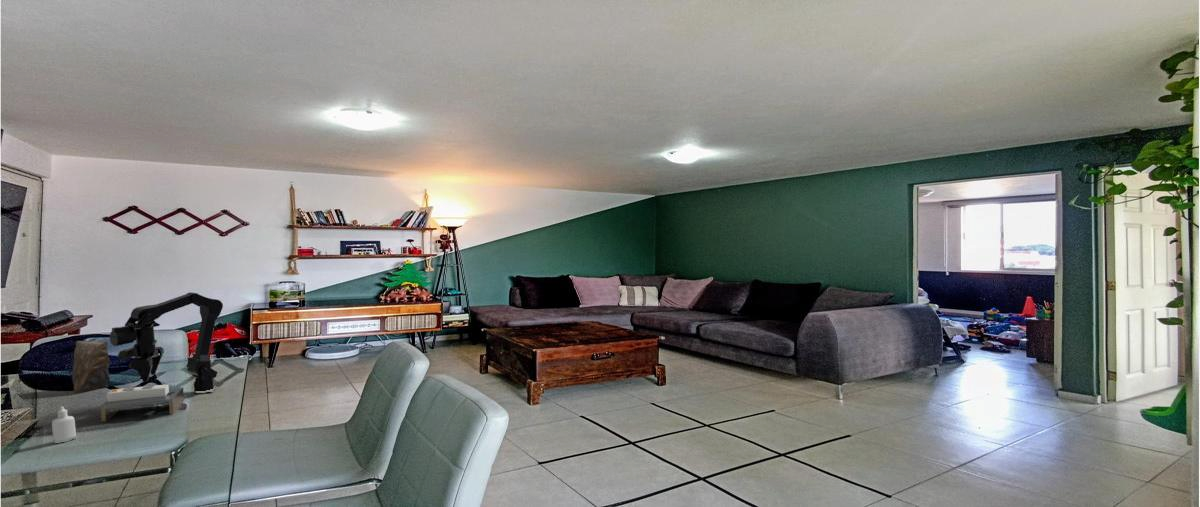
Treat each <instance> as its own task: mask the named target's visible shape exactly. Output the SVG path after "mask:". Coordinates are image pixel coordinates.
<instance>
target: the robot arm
mask: <svg viewBox="0 0 1200 507" xmlns="http://www.w3.org/2000/svg"><path fill="white" fill-rule="evenodd" d="M192 304H193V305H195V306H197V307H199V314H200V317H201V321H200V327H199V332H198V338H197V341H196V347H195V352H194V354H193V355H192V356H191V357H190V356H188V357H187V364H186V365H185V367H186V368H187V369H186V370H187V372H189V374H191V375H192V376H191V377H193V378H194V382H193V391H194V392H195V391H206V390H210V389H213V388H214V387H216V384H215V383H216V382H215V381H216V380H215V378H217V375H218V371H216V370H214V369H213V368H212V363H211V362H212V360H211V358H210V354H209V353H210V351H211V350H210V349H211V344H212V339H213V334H214V329H215V324H216V320H217V319H218V318H219V316H220V315H221V313H222V310H223V307H224V305H223V304H224V303H222V301H221V300H220V299H215V298H211V297H206V296H203V295H201V294H199V293H198V292H192V291H191V292H187V293H186V294H183V295H180V296H177V297H174V298H171V299H168V300H165V301H162V302H160V303H156V304H149V305H143V306H137V307H135V308H133V309H132V311H131V313H130V316H129V318H128V319H127V321H126V322H125V323H124V326H117V327H116V326H115V327H112V328H111V332H109V333H110V334H109V341H110V343H111V345H112V346H113V347H117V346H122V345H127V344H132V343H134V342H136V343H134V345H133V346H131V347H130V348H127V349H126V348H125V349H123V350H120V351H119V352H118V354H117V359H119V360H121V362H125V361H126V360H128V359H131V358H133V357H134V358H133V359H132V360H131V361H130V362H129V369H131V370H135V371H136V372H138V374H139V376H140V378H141V380H142V382H143V383H147V382H148V381H149V378H150V375H151V376H153V375H154V376H155V375H156V373H157V371H158V368H159V365H160V363H161V360H162V358H163V356H164V354H165V353H164V352H165V350H164V348H163V347H162V346H156V344H157V342H158V341H157V339H156V338H155V329H154V328H156V327H159V326H161V324H160V323H158V322H156V321H155V320H158V319H159V318H160V317H162V316H163V315H165V314H167V313H169V312H172V311H176V310H178V309H180V308H181V309H182V308H184V307H186V306H189V305H192Z"/></svg>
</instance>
